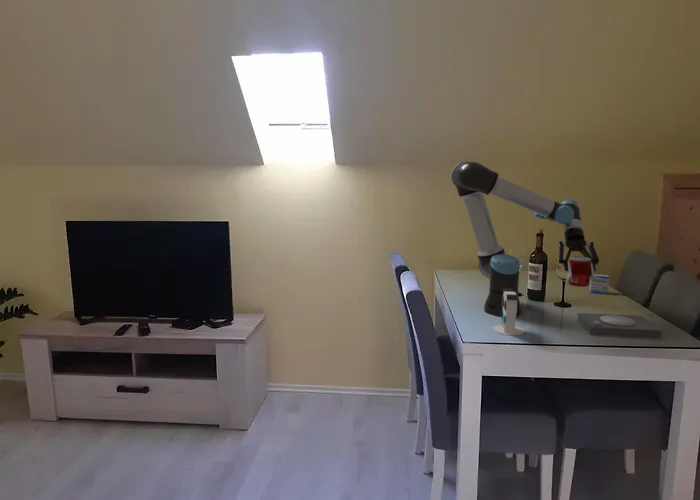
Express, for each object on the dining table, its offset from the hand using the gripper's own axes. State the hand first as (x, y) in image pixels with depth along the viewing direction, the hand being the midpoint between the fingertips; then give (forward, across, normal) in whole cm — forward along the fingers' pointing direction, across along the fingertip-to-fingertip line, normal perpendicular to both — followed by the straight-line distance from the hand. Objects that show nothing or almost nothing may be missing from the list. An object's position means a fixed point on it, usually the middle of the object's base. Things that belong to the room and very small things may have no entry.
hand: (581, 277), depth 211 cm
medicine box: (-18, -21, -43) cm, 51 cm away
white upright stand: (+26, +31, +3) cm, 41 cm away
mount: (+21, -10, -2) cm, 24 cm away
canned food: (0, 0, -5) cm, 5 cm away
